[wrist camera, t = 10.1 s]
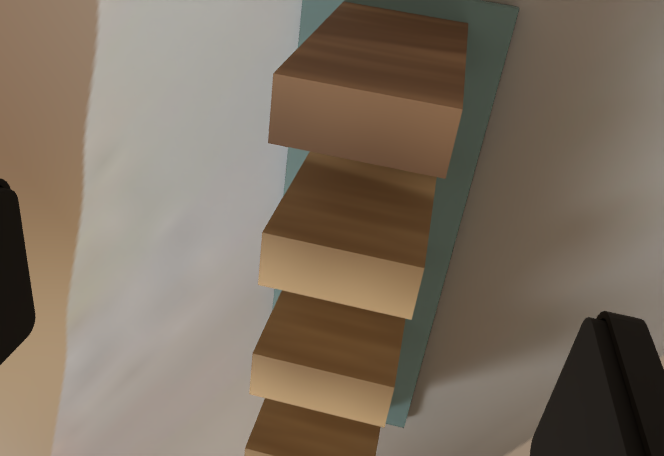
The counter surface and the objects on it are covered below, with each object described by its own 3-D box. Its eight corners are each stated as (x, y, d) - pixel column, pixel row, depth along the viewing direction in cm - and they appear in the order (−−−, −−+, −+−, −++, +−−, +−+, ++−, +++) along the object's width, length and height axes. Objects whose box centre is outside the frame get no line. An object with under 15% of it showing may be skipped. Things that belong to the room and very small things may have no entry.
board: (404, 421, 36) (403, 427, 36) (266, 387, 37) (264, 393, 37) (518, 6, 24) (519, 9, 24) (308, -30, 25) (305, -28, 25)
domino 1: (343, 1, 25) (273, 73, 16) (468, 23, 24) (462, 109, 16) (337, 51, 26) (267, 143, 17) (456, 73, 25) (445, 178, 17)
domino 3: (410, 271, 31) (384, 427, 22) (311, 249, 31) (249, 393, 23) (418, 237, 30) (394, 387, 21) (316, 215, 30) (252, 353, 22)
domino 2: (431, 181, 28) (411, 320, 20) (323, 159, 28) (258, 284, 20) (441, 140, 27) (424, 268, 18) (329, 118, 27) (262, 232, 19)
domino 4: (392, 346, 33) (363, 512, 25) (301, 325, 34) (242, 480, 25) (399, 318, 32) (371, 480, 24) (305, 296, 33) (245, 448, 24)
